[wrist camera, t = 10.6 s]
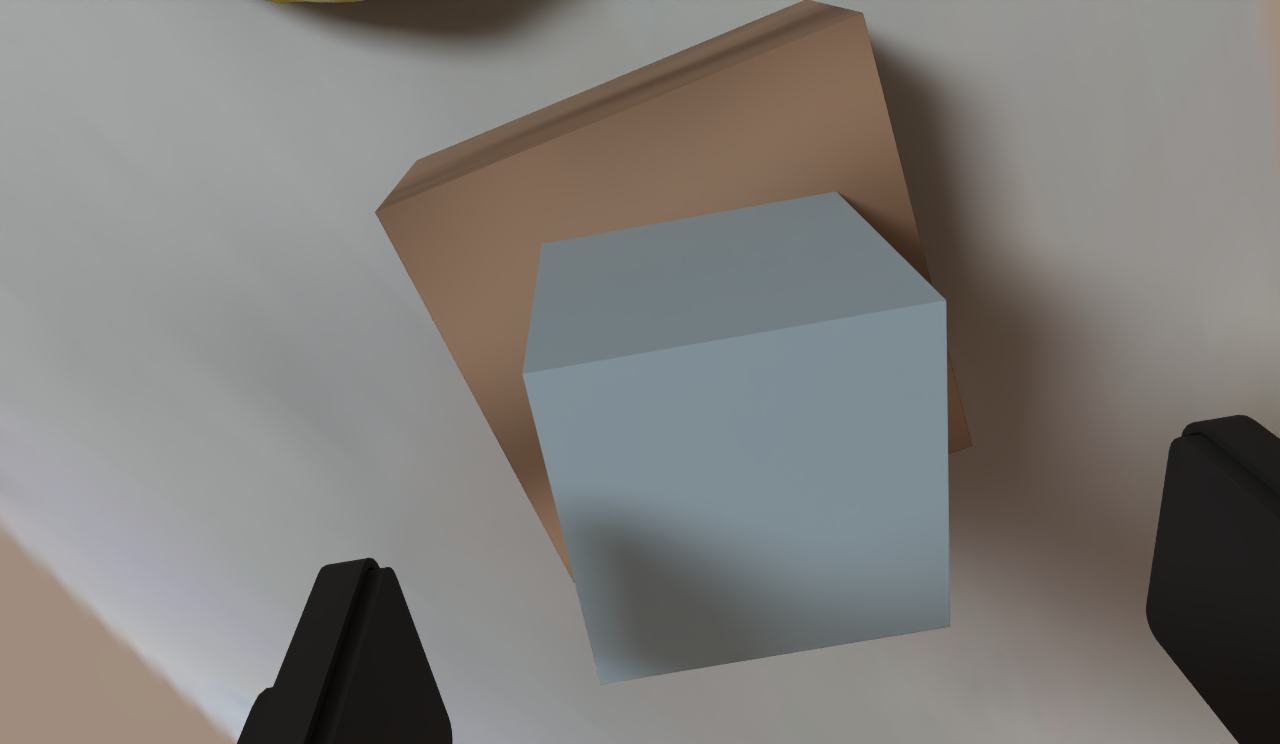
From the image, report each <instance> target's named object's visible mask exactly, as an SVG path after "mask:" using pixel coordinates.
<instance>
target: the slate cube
mask: <svg viewBox="0 0 1280 744" xmlns="http://www.w3.org/2000/svg"><path fill="white" fill-rule="evenodd" d="M522 375H523V379H524V383H525V387H526V390H527V394H528V398H529V402H530V406H531V410H532V414H533V418H534V422H535V426H536V430H537V434H538V438H539V442H540V446H541V450H542V454H543V458H544V462H545V466H546V470H547V474H548V478H549V482H550V486H551V490H552V494H553V497H554V501H555V505H556V509H557V513H558V517H559V521H560V525H561V529H562V533H563V537H564V541H565V545H566V549H567V553H568V557H569V561H570V565H571V569H572V573H573V577H574V581H575V585H576V589H577V593H578V597H579V601H580V605H581V608H582V612H583V616H584V620H585V624H586V628H587V632H588V636H589V640H590V644H591V648H592V652H593V656H594V660H595V664H596V668H597V672H598V676H599V680H600V684H607V683H613V682H619V681H625V680H631V679H637V678H643V677H649V676H655V675H661V674H667V673H673V672H679V671H685V670H691V669H697V668H703V667H709V666H715V665H721V664H728V663H734V662H740V661H746V660H752V659H758V658H764V657H770V656H776V655H782V654H788V653H794V652H800V651H806V650H812V649H818V648H824V647H830V646H836V645H842V644H848V643H854V642H860V641H866V640H872V639H878V638H884V637H890V636H896V635H902V634H908V633H915V632H921V631H927V630H933V629H939V628H945V627H950V580H949V495H948V411H947V327H946V300H945V299H944V298H943V297H942V296H941V295H940V294H939V293H938V292H937V291H936V290H935V289H934V288H933V287H932V286H931V285H930V284H929V283H928V282H927V281H926V280H925V279H924V278H923V277H922V276H921V275H920V274H919V273H918V272H917V271H916V270H915V269H914V268H913V267H912V266H911V265H910V264H909V263H908V262H907V261H906V260H905V259H904V258H903V257H902V256H901V255H900V254H899V253H898V252H897V251H896V250H895V249H894V248H893V247H892V246H891V245H890V244H889V243H888V242H887V241H886V240H885V239H884V238H883V237H882V236H881V235H880V234H879V233H878V232H877V231H876V230H875V229H874V228H873V227H872V226H871V225H870V224H869V223H867V222H866V221H865V220H864V219H863V218H862V217H861V216H860V215H859V214H858V213H857V212H856V211H855V210H854V209H853V208H852V207H851V206H850V205H849V204H848V203H847V202H846V201H845V200H844V199H843V198H842V197H841V196H840V195H839V194H838V193H837V192H830V193H824V194H819V195H813V196H808V197H802V198H796V199H791V200H785V201H779V202H774V203H768V204H763V205H757V206H751V207H746V208H740V209H734V210H729V211H723V212H718V213H712V214H706V215H701V216H695V217H689V218H684V219H678V220H673V221H667V222H661V223H656V224H650V225H644V226H639V227H633V228H628V229H622V230H616V231H611V232H605V233H599V234H594V235H588V236H583V237H577V238H571V239H566V240H560V241H554V242H549V243H543V244H542V245H541V252H540V259H539V266H538V272H537V279H536V286H535V293H534V299H533V306H532V313H531V319H530V326H529V333H528V340H527V346H526V353H525V360H524V367H523V373H522Z"/></svg>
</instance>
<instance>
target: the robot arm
mask: <svg viewBox="0 0 1280 744" xmlns="http://www.w3.org/2000/svg"><path fill="white" fill-rule="evenodd" d="M1146 615H1147V620H1148V623H1149V627H1150V629H1151V631H1152V633H1153V635H1154V637H1155V638H1156V640H1157V641H1158V642H1159V644H1160V645H1161V646H1162V647H1163V649H1164V650H1165V651H1166V652H1167V654H1168V655H1169V656H1170V657H1171V659H1172V660H1173V661H1174V662H1175V664H1176V665H1177V666H1178V667H1179V669H1180V670H1181V671H1182V672H1183V674H1184V675H1185V676H1186V678H1187V679H1188V680H1189V681H1190V683H1191V684H1192V685H1193V686H1194V688H1195V689H1196V690H1197V691H1198V693H1199V694H1200V695H1201V696H1202V698H1203V699H1204V700H1205V701H1206V703H1207V704H1208V705H1209V706H1210V708H1211V709H1212V710H1213V711H1214V713H1215V714H1216V715H1217V717H1218V718H1219V719H1220V720H1221V722H1222V723H1223V724H1224V725H1225V727H1226V728H1227V729H1228V730H1229V732H1230V733H1231V734H1232V735H1233V737H1234V738H1235V739H1236V740H1237V742H1238V743H1239V744H1280V439H1279V438H1278V437H1276V436H1275V435H1274V434H1272V433H1271V432H1270V431H1268V430H1267V429H1266V428H1264V427H1263V426H1262V425H1260V424H1259V423H1258V422H1256V421H1255V420H1253V419H1252V418H1250V417H1248V416H1244V415H1235V416H1229V417H1223V418H1217V419H1211V420H1205V421H1199V422H1193V423H1191V424H1189V425H1187V426H1186V428H1185V429H1184V430H1183V433H1182V436H1181V437H1178V438H1176V439H1174V440H1173V442H1172V443H1171V446H1170V449H1169V455H1168V462H1167V469H1166V475H1165V482H1164V489H1163V496H1162V502H1161V509H1160V516H1159V523H1158V530H1157V536H1156V543H1155V550H1154V557H1153V563H1152V570H1151V577H1150V584H1149V591H1148V597H1147V604H1146ZM237 744H452V729H451V724H450V720H449V717H448V714H447V711H446V709H445V706H444V703H443V701H442V698H441V695H440V693H439V690H438V687H437V684H436V682H435V679H434V676H433V674H432V671H431V668H430V666H429V663H428V660H427V657H426V655H425V652H424V649H423V647H422V644H421V641H420V639H419V636H418V633H417V631H416V628H415V625H414V622H413V620H412V617H411V614H410V612H409V609H408V606H407V604H406V601H405V598H404V595H403V593H402V590H401V587H400V585H399V582H398V579H397V577H396V574H395V572H394V571H393V569H392V568H390V567H386V568H380V567H379V565H378V563H377V562H376V561H375V560H374V559H372V558H365V559H359V560H353V561H347V562H341V563H335V564H329V565H325V566H324V567H322V568H321V570H320V572H319V573H318V576H317V578H316V581H315V583H314V586H313V588H312V591H311V593H310V596H309V598H308V601H307V603H306V606H305V608H304V611H303V613H302V616H301V618H300V621H299V623H298V626H297V628H296V631H295V633H294V636H293V638H292V641H291V643H290V646H289V648H288V651H287V653H286V656H285V658H284V661H283V663H282V666H281V668H280V671H279V673H278V676H277V678H276V681H275V683H274V686H273V687H271V688H266V689H265V690H264V691H263V692H262V693H260V694H259V696H258V697H257V699H256V701H255V703H254V704H253V706H252V708H251V711H250V713H249V716H248V718H247V720H246V723H245V725H244V728H243V730H242V732H241V735H240V737H239V740H238V742H237Z"/></svg>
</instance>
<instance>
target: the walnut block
mask: <svg viewBox="0 0 1280 744" xmlns="http://www.w3.org/2000/svg"><path fill="white" fill-rule="evenodd" d="M830 192H837V193H838V194H839V195H840V196H841V197H842V198H843V199H844V200H845V201H846V202H847V203H848V204H849V205H850V206H851V207H852V208H853V209H854V210H855V211H856V212H857V213H858V214H859V215H860V216H861V217H862V218H863V219H864V220H865V221H866V222H867V223H869V224H870V225H871V226H872V227H873V228H874V229H875V230H876V231H877V232H878V233H879V234H880V235H881V236H882V237H883V238H884V239H885V240H886V241H887V242H888V243H889V244H890V245H891V246H892V247H893V248H894V249H895V250H896V251H897V252H898V253H899V254H900V255H901V256H902V257H903V258H904V259H905V260H906V261H907V262H908V263H909V264H910V265H911V266H912V267H913V268H914V269H915V270H916V271H917V272H918V273H919V274H920V275H921V276H922V277H923V278H924V279H925V280H926V281H927V282H928V283H929V284H930V285H931V281H930V277H929V273H928V269H927V265H926V261H925V257H924V253H923V249H922V245H921V241H920V237H919V233H918V229H917V225H916V221H915V218H914V214H913V210H912V206H911V202H910V198H909V194H908V190H907V186H906V182H905V178H904V174H903V170H902V166H901V162H900V158H899V154H898V150H897V146H896V142H895V138H894V134H893V130H892V126H891V122H890V118H889V114H888V110H887V106H886V102H885V99H884V95H883V91H882V87H881V83H880V79H879V75H878V71H877V67H876V63H875V59H874V55H873V51H872V47H871V43H870V39H869V35H868V31H867V27H866V23H865V19H864V15H863V13H861V12H857V11H853V10H849V9H845V8H840V7H836V6H832V5H828V4H823V3H819V2H815V1H811V0H804V1H802V2H799V3H797V4H794V5H792V6H789V7H787V8H785V9H782V10H780V11H777V12H775V13H772V14H770V15H768V16H765V17H763V18H760V19H758V20H756V21H753V22H751V23H748V24H746V25H743V26H741V27H739V28H736V29H734V30H731V31H729V32H727V33H724V34H722V35H719V36H717V37H714V38H712V39H710V40H707V41H705V42H702V43H700V44H698V45H695V46H693V47H690V48H688V49H685V50H683V51H681V52H678V53H676V54H673V55H671V56H669V57H666V58H664V59H661V60H659V61H656V62H654V63H652V64H649V65H647V66H644V67H642V68H640V69H637V70H635V71H632V72H630V73H627V74H625V75H623V76H620V77H618V78H615V79H613V80H610V81H608V82H606V83H603V84H601V85H598V86H596V87H594V88H591V89H589V90H586V91H584V92H581V93H579V94H577V95H574V96H572V97H569V98H567V99H565V100H562V101H560V102H557V103H555V104H552V105H550V106H548V107H545V108H543V109H540V110H538V111H536V112H533V113H531V114H528V115H526V116H523V117H521V118H519V119H516V120H514V121H511V122H509V123H507V124H504V125H502V126H499V127H497V128H494V129H492V130H490V131H487V132H485V133H482V134H480V135H478V136H475V137H473V138H470V139H468V140H465V141H463V142H461V143H458V144H456V145H453V146H451V147H448V148H446V149H444V150H441V151H439V152H436V153H434V154H432V155H429V156H427V157H424V158H422V159H419V160H417V161H416V162H415V163H414V165H413V166H412V167H411V168H410V170H409V171H408V172H407V173H406V175H405V176H404V177H403V178H402V179H401V181H400V182H399V183H398V184H397V186H396V187H395V188H394V189H393V191H392V192H391V193H390V194H389V196H388V197H387V198H386V199H385V200H384V202H383V203H382V204H381V205H380V207H379V208H378V209H377V210H376V212H375V213H376V215H377V216H378V218H379V220H380V222H381V224H382V226H383V228H384V229H385V231H386V233H387V235H388V237H389V239H390V241H391V243H392V244H393V246H394V248H395V250H396V252H397V254H398V256H399V257H400V259H401V261H402V263H403V265H404V267H405V269H406V271H407V272H408V274H409V276H410V278H411V280H412V282H413V284H414V285H415V287H416V289H417V291H418V293H419V295H420V297H421V298H422V300H423V302H424V304H425V306H426V308H427V310H428V312H429V313H430V315H431V317H432V319H433V321H434V323H435V325H436V326H437V328H438V330H439V332H440V334H441V336H442V338H443V340H444V341H445V343H446V345H447V347H448V349H449V351H450V353H451V354H452V356H453V358H454V360H455V362H456V364H457V366H458V368H459V369H460V371H461V373H462V375H463V377H464V379H465V381H466V382H467V384H468V386H469V388H470V390H471V392H472V394H473V395H474V397H475V399H476V401H477V403H478V405H479V407H480V409H481V410H482V412H483V414H484V416H485V418H486V420H487V422H488V423H489V425H490V427H491V429H492V431H493V433H494V435H495V437H496V438H497V440H498V442H499V444H500V446H501V448H502V450H503V451H504V453H505V455H506V457H507V459H508V461H509V463H510V464H511V466H512V468H513V470H514V472H515V474H516V476H517V478H518V479H519V481H520V483H521V485H522V487H523V489H524V491H525V492H526V494H527V496H528V498H529V500H530V502H531V504H532V506H533V507H534V509H535V511H536V513H537V515H538V517H539V519H540V520H541V522H542V524H543V526H544V528H545V530H546V532H547V533H548V535H549V537H550V539H551V541H552V543H553V545H554V547H555V548H556V550H557V552H558V554H559V556H560V558H561V560H562V561H563V563H564V565H565V567H566V569H567V571H568V573H569V575H570V576H571V578H572V580H573V582H574V583H575V581H574V577H573V573H572V569H571V565H570V561H569V557H568V553H567V549H566V545H565V541H564V537H563V533H562V529H561V525H560V521H559V517H558V513H557V509H556V505H555V501H554V497H553V494H552V490H551V486H550V482H549V478H548V474H547V470H546V466H545V462H544V458H543V454H542V450H541V446H540V442H539V438H538V434H537V430H536V426H535V422H534V418H533V414H532V410H531V406H530V402H529V398H528V394H527V390H526V387H525V383H524V379H523V375H522V373H523V367H524V360H525V353H526V346H527V340H528V333H529V326H530V319H531V313H532V306H533V299H534V293H535V286H536V279H537V272H538V266H539V259H540V252H541V245H542V244H543V243H549V242H554V241H560V240H566V239H571V238H577V237H583V236H588V235H594V234H599V233H605V232H611V231H616V230H622V229H628V228H633V227H639V226H644V225H650V224H656V223H661V222H667V221H673V220H678V219H684V218H689V217H695V216H701V215H706V214H712V213H718V212H723V211H729V210H734V209H740V208H746V207H751V206H757V205H763V204H768V203H774V202H779V201H785V200H791V199H796V198H802V197H808V196H813V195H819V194H824V193H830ZM931 286H932V285H931ZM947 411H948V454H950V453H953V452H955V451H958V450H961V449H964V448H967V447H970V446H972V444H971V440H970V436H969V432H968V428H967V424H966V420H965V416H964V412H963V408H962V404H961V400H960V396H959V392H958V388H957V384H956V380H955V376H954V372H953V368H952V364H951V360H950V356H949V352H948V348H947Z"/></svg>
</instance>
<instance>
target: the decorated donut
mask: <svg viewBox="0 0 1280 744" xmlns="http://www.w3.org/2000/svg"><path fill="white" fill-rule="evenodd" d="M267 1H273V2H276V3H286V2H305V1H309V2H317V3H324V2H330V3H340V2H356V1H363V0H267Z"/></svg>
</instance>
